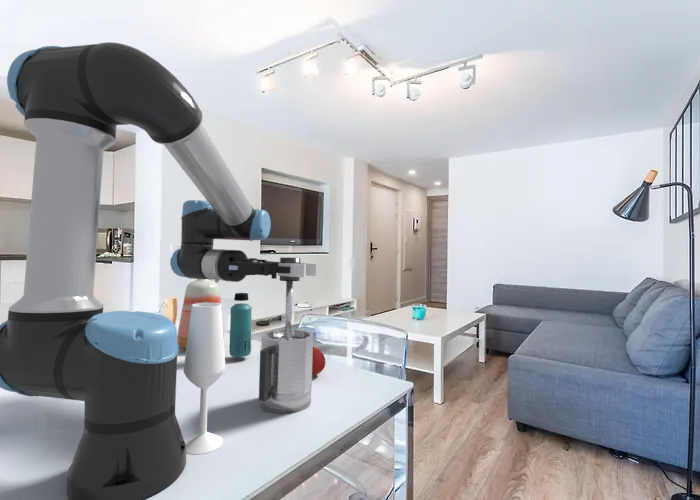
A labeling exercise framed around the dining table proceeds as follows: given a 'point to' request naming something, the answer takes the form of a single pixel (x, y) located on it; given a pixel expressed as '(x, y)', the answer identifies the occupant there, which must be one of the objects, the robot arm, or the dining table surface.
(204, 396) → the champagne flute
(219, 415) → the dining table surface
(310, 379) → the press pot
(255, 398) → the dining table surface
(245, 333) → the beverage bottle
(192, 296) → the vase
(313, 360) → the onion
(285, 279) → the plunger
